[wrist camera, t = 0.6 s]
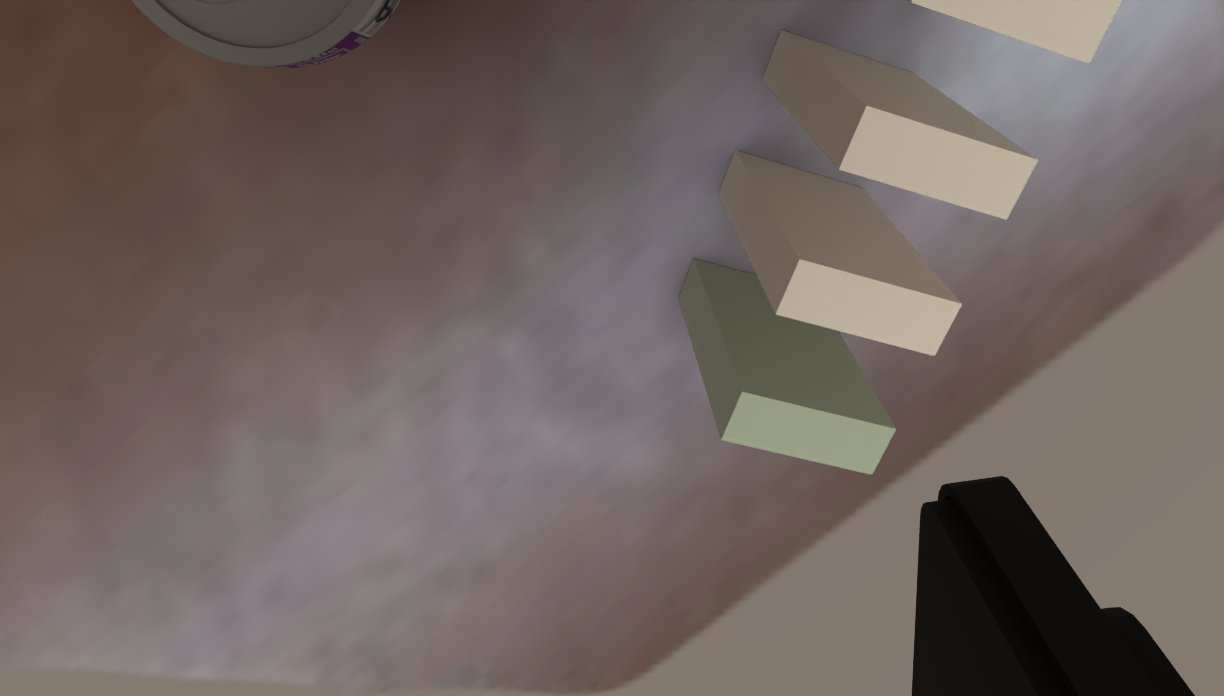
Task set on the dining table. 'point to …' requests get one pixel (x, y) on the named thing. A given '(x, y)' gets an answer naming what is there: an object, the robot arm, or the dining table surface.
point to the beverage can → (270, 28)
